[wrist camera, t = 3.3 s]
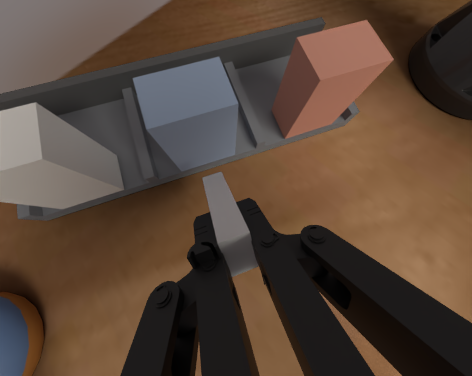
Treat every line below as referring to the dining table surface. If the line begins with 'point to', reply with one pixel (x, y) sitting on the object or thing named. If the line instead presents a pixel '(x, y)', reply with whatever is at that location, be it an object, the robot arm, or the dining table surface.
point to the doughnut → (19, 336)
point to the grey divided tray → (131, 119)
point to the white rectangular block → (51, 161)
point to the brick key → (327, 76)
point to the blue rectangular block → (190, 112)
